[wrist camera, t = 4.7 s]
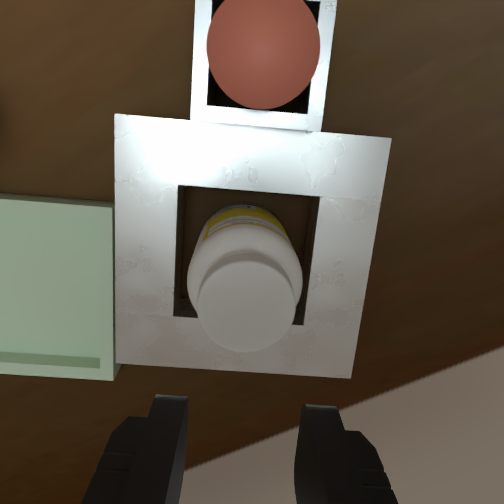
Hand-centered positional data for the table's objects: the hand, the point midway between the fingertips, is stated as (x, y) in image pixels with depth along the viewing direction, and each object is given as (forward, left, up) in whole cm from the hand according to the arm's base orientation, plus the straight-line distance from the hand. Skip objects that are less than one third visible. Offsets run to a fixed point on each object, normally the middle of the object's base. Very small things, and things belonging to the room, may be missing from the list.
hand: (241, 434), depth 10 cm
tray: (+13, +4, -17) cm, 22 cm away
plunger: (0, -10, -16) cm, 19 cm away
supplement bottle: (0, 0, -17) cm, 17 cm away
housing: (0, -3, -17) cm, 17 cm away
